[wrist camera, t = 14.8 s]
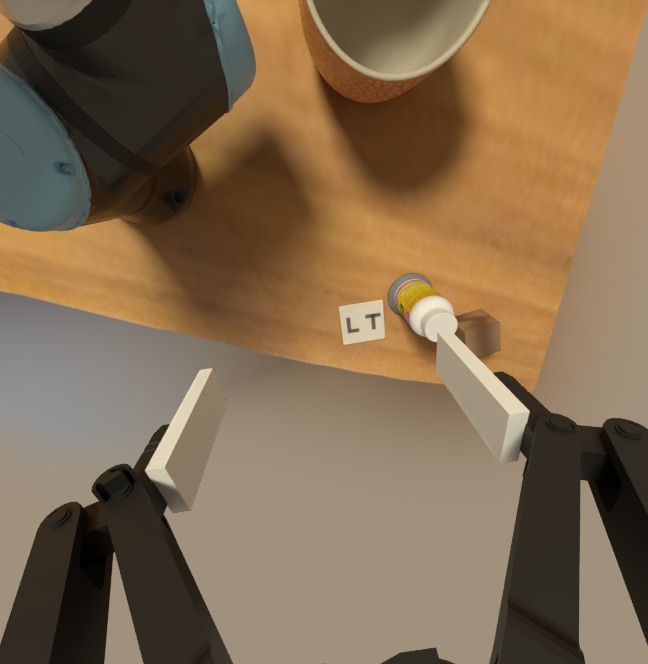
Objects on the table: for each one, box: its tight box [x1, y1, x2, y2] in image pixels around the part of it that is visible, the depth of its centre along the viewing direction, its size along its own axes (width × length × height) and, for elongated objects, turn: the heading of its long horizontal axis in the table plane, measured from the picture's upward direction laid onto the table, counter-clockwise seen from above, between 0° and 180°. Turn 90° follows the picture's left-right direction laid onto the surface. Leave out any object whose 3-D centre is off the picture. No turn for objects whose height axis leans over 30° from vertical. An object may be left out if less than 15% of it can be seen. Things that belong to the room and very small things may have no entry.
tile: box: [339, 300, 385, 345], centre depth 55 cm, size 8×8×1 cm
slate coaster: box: [388, 273, 432, 316], centre depth 53 cm, size 8×8×1 cm
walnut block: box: [455, 309, 501, 358], centre depth 54 cm, size 6×6×6 cm
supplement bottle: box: [394, 279, 458, 342], centre depth 47 cm, size 7×7×13 cm
